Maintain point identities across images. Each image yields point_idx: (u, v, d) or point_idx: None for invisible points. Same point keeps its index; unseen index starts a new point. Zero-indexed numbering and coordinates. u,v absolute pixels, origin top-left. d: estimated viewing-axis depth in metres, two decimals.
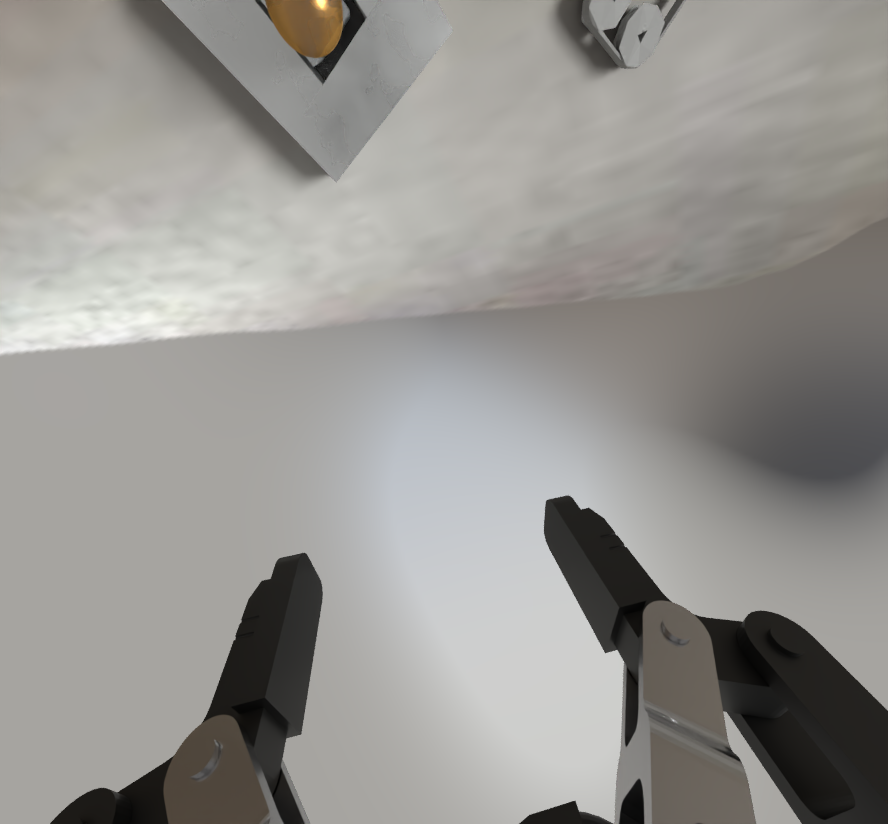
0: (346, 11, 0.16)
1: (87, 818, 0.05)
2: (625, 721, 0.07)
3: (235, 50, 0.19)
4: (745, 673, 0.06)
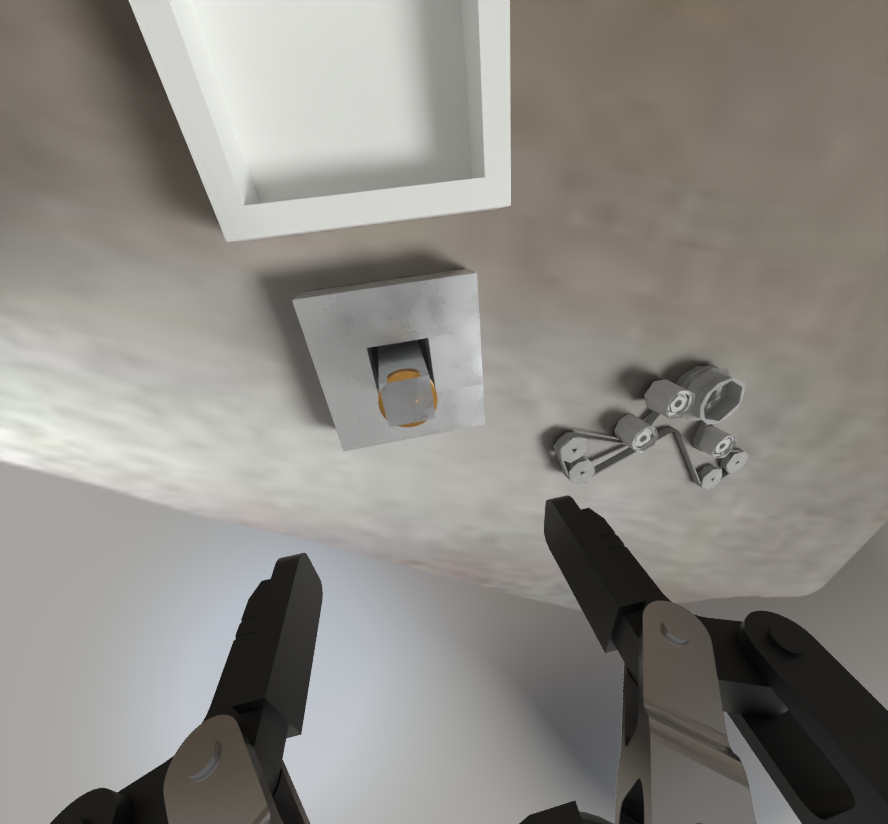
0: (433, 418, 0.20)
1: (87, 818, 0.05)
2: (625, 721, 0.07)
3: (328, 357, 0.22)
4: (745, 673, 0.06)
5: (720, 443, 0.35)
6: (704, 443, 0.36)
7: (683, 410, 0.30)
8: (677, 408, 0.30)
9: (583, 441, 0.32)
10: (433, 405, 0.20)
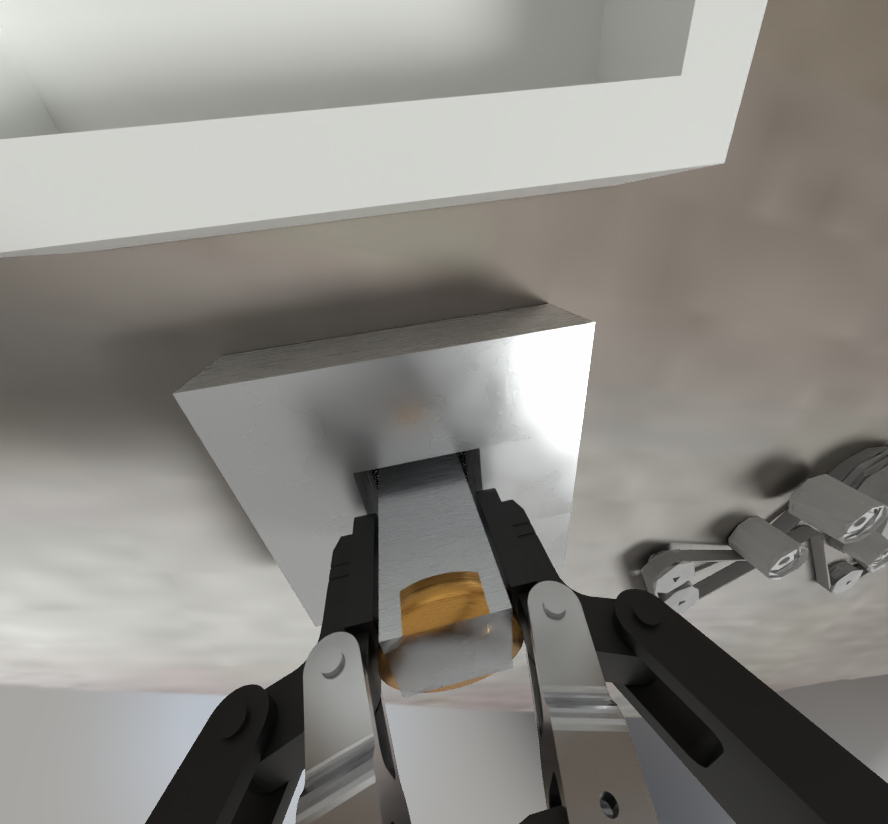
0: None
1: (246, 706, 0.06)
2: (536, 710, 0.07)
3: (274, 494, 0.11)
4: (610, 643, 0.07)
5: None
6: (854, 546, 0.24)
7: (863, 529, 0.19)
8: (856, 527, 0.18)
9: (690, 566, 0.21)
10: (511, 651, 0.08)
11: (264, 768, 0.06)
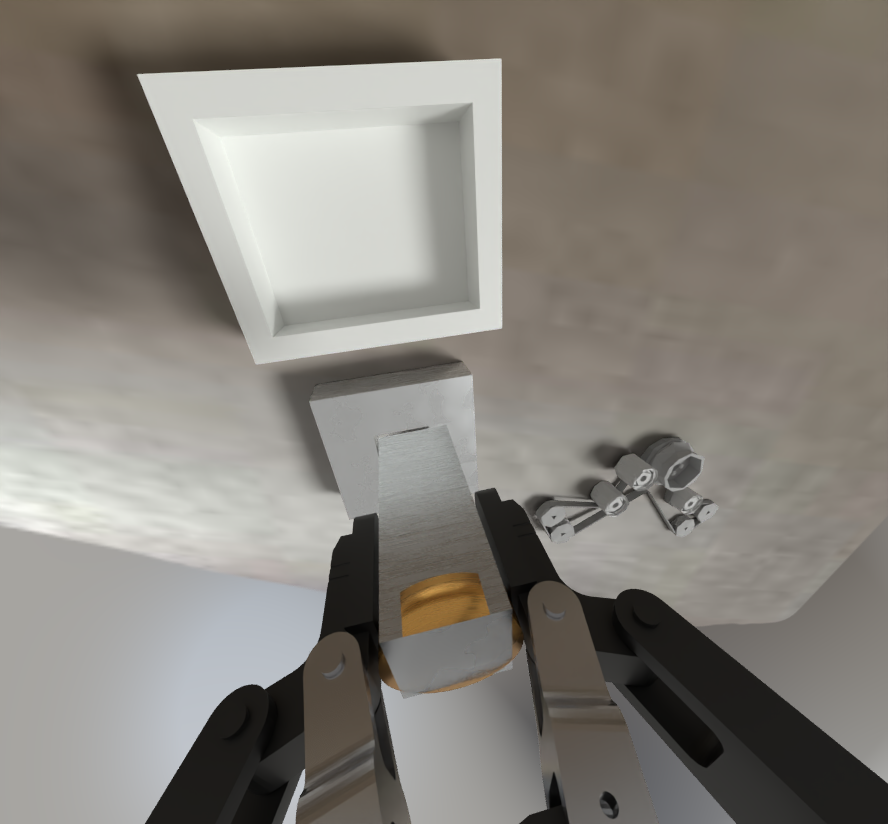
0: None
1: (245, 706, 0.06)
2: (536, 710, 0.07)
3: (339, 444, 0.25)
4: (610, 644, 0.07)
5: (688, 502, 0.39)
6: (674, 501, 0.39)
7: (648, 483, 0.34)
8: (643, 482, 0.33)
9: (562, 509, 0.36)
10: (511, 652, 0.08)
11: (264, 768, 0.06)
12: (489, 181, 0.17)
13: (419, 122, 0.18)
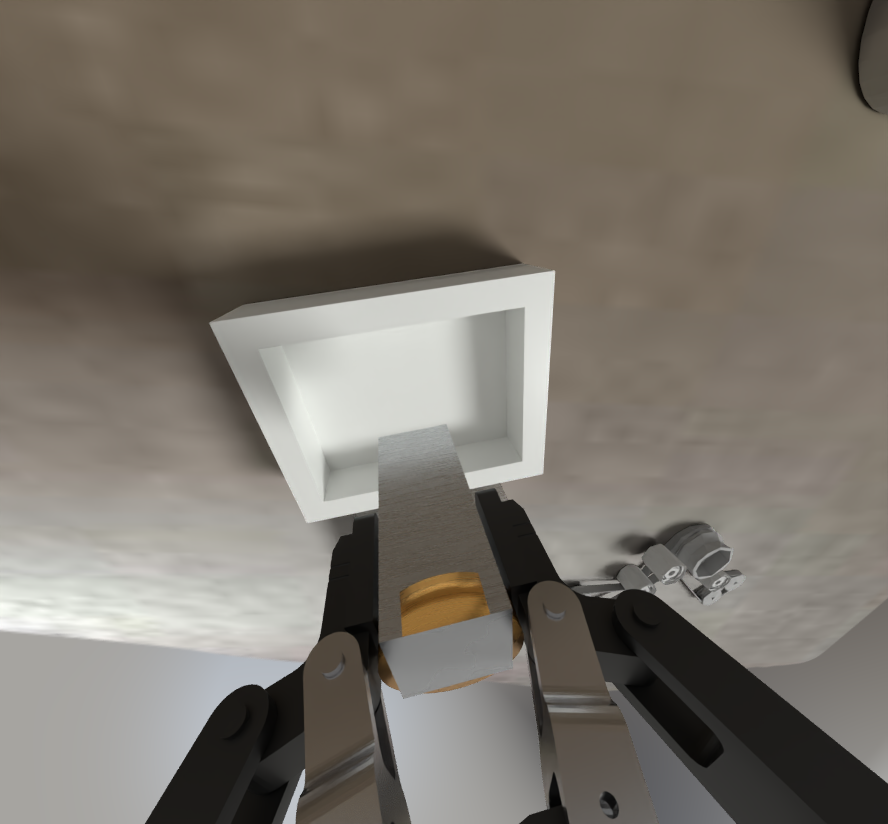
0: (507, 669, 0.09)
1: (245, 706, 0.06)
2: (536, 710, 0.07)
3: None
4: (610, 644, 0.07)
5: (716, 581, 0.39)
6: (701, 578, 0.39)
7: (677, 576, 0.34)
8: (671, 575, 0.34)
9: None
10: (511, 652, 0.08)
11: (264, 768, 0.06)
12: (537, 364, 0.18)
13: None
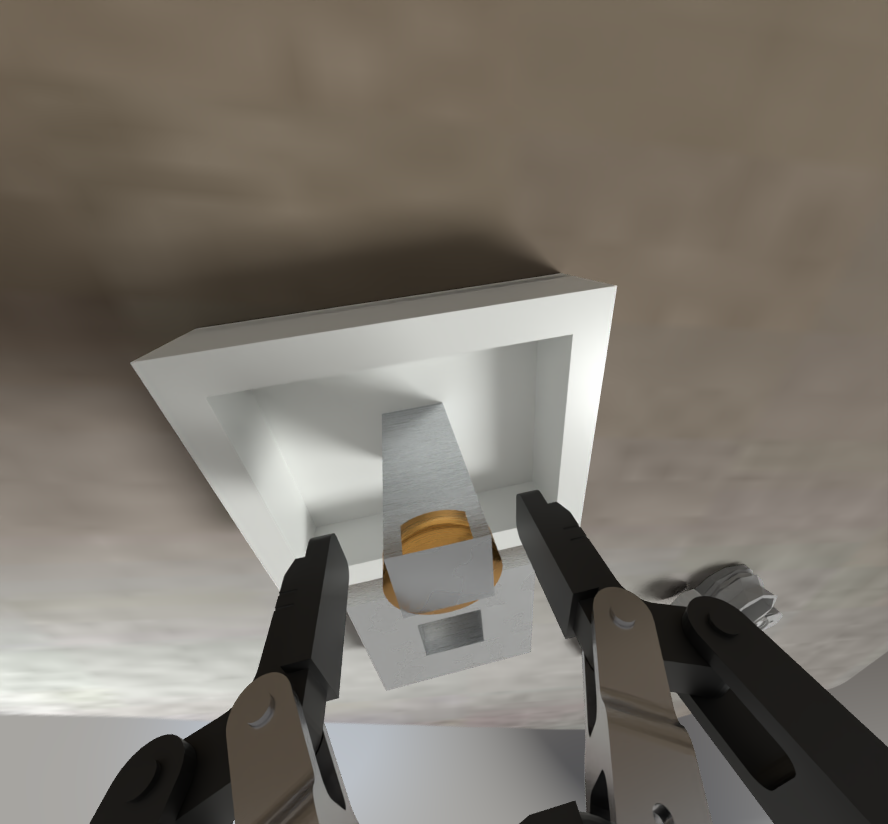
0: (490, 596, 0.10)
1: (159, 759, 0.06)
2: (587, 710, 0.07)
3: (378, 636, 0.21)
4: (685, 653, 0.07)
5: None
6: None
7: None
8: None
9: None
10: (493, 578, 0.10)
11: (186, 818, 0.06)
12: (583, 406, 0.14)
13: None
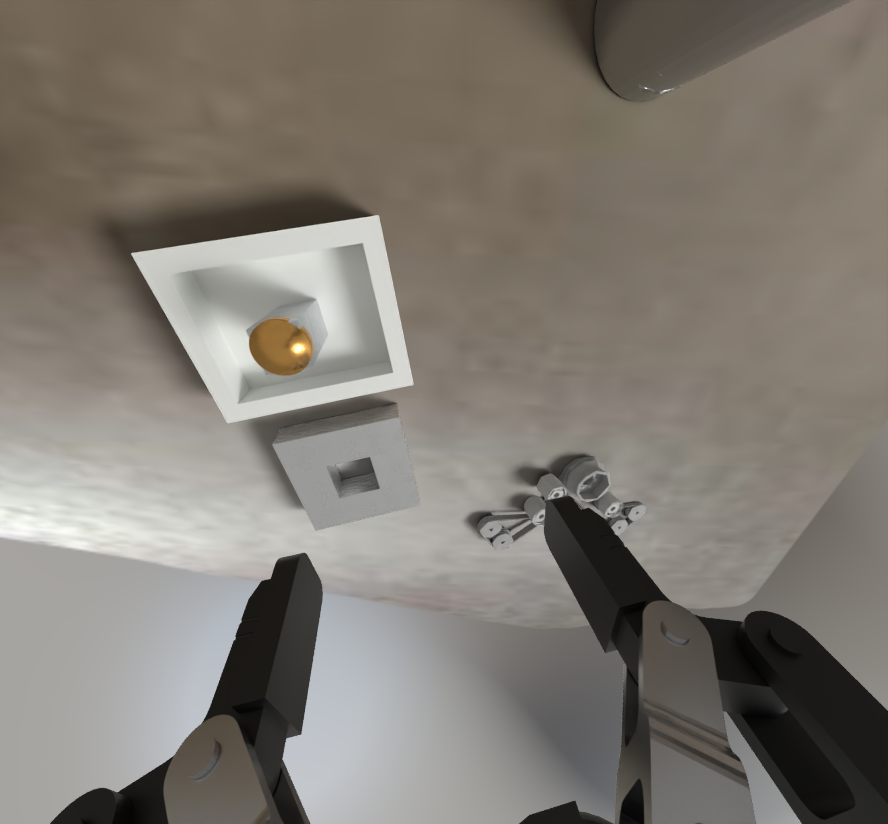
0: (310, 366, 0.21)
1: (87, 818, 0.05)
2: (625, 721, 0.07)
3: (300, 474, 0.32)
4: (745, 673, 0.06)
5: (610, 507, 0.45)
6: (600, 507, 0.46)
7: None
8: (557, 497, 0.40)
9: (497, 523, 0.43)
10: (307, 352, 0.20)
11: None
12: (384, 289, 0.24)
13: (333, 247, 0.24)
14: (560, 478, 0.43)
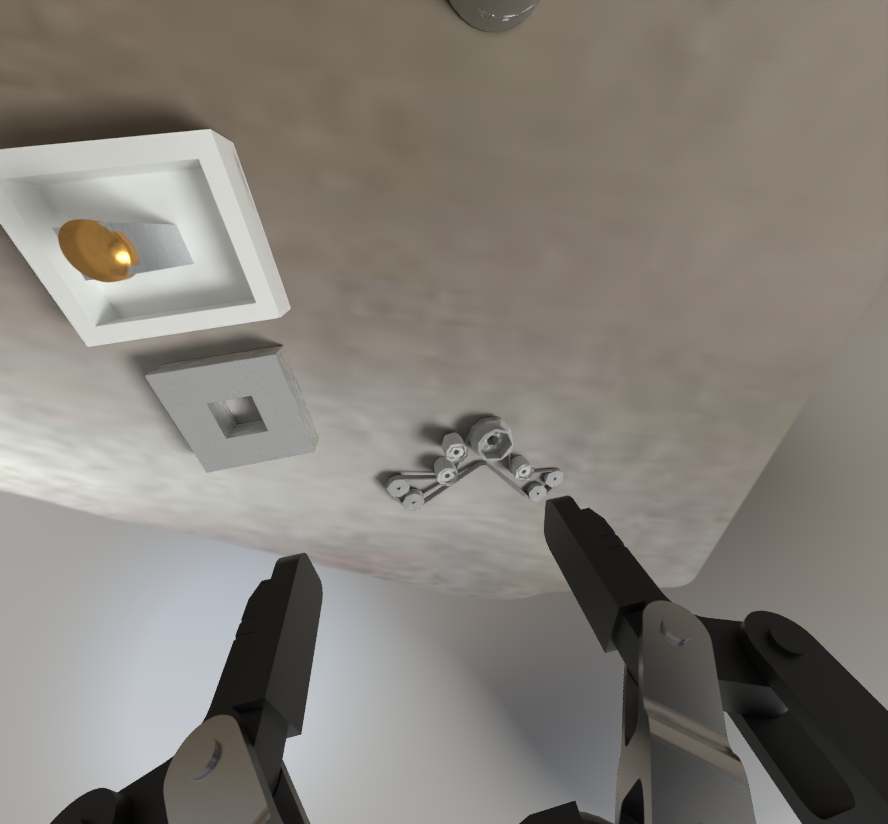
0: (131, 273, 0.21)
1: (87, 818, 0.05)
2: (625, 721, 0.07)
3: (179, 410, 0.32)
4: (745, 673, 0.06)
5: (521, 470, 0.46)
6: (512, 470, 0.46)
7: (463, 455, 0.41)
8: (457, 455, 0.41)
9: (404, 482, 0.44)
10: (125, 258, 0.21)
11: None
12: (230, 210, 0.24)
13: (183, 169, 0.25)
14: (467, 438, 0.43)
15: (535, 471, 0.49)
